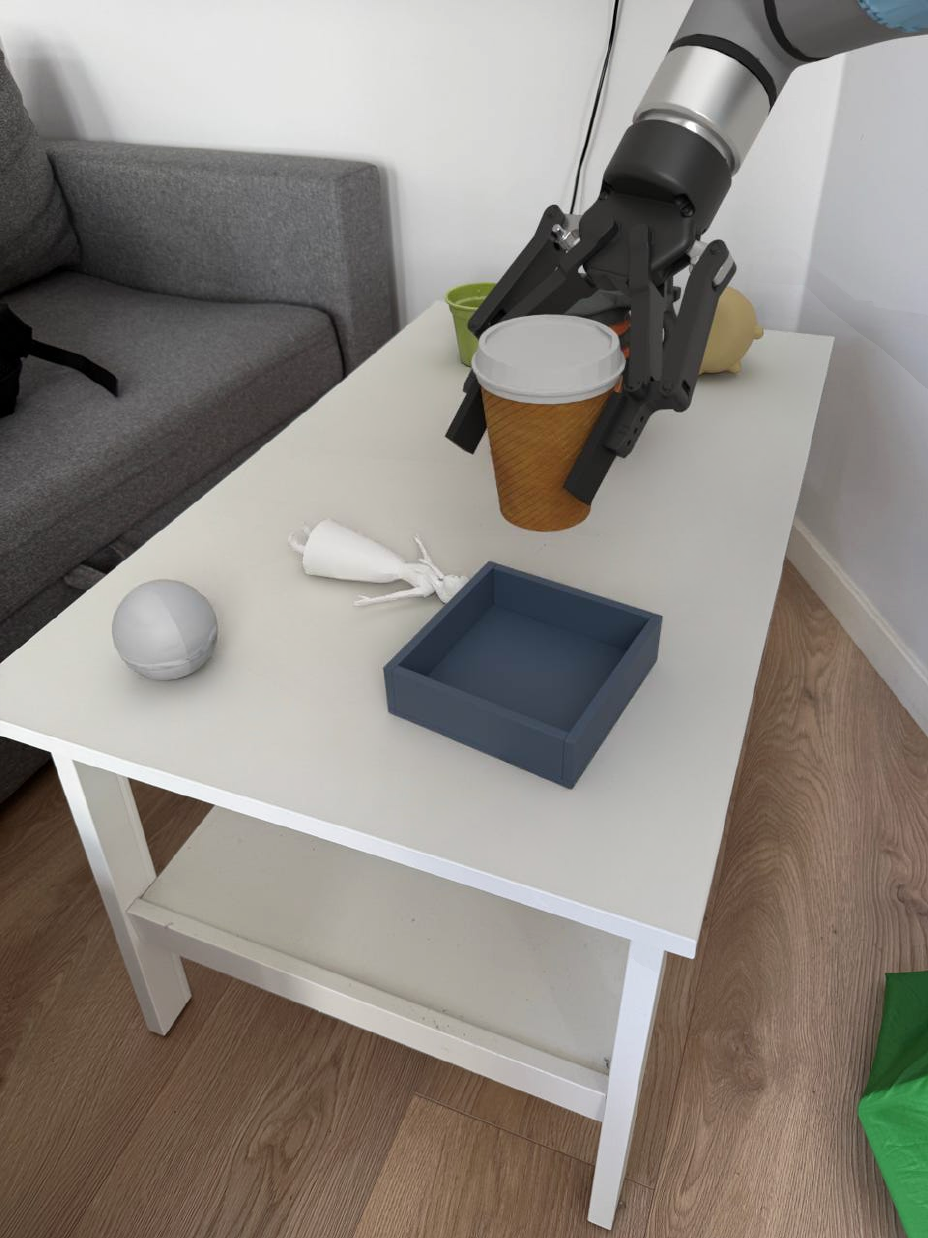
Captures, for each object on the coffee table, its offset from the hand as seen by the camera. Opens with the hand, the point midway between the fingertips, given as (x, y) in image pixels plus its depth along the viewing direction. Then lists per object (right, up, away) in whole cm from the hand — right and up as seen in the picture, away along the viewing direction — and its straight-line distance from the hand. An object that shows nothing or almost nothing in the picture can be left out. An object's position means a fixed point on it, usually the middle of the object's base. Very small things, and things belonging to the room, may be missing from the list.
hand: (514, 469), depth 59 cm
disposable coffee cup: (+2, -2, +5) cm, 5 cm away
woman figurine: (-11, -6, +25) cm, 27 cm away
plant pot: (-1, +25, +63) cm, 67 cm away
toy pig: (+28, +22, +58) cm, 68 cm away
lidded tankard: (+10, +11, +45) cm, 48 cm away
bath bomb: (-27, -14, +16) cm, 34 cm away
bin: (+2, -15, +13) cm, 20 cm away
